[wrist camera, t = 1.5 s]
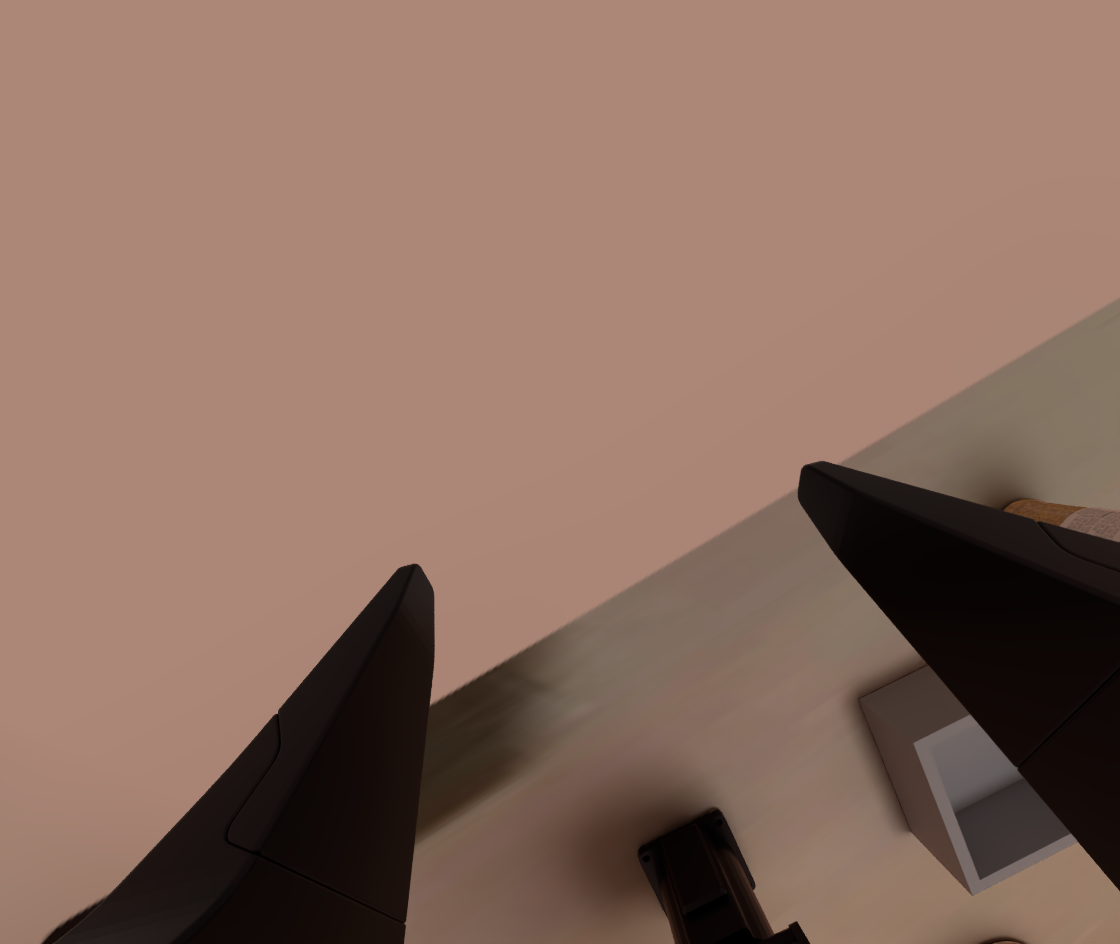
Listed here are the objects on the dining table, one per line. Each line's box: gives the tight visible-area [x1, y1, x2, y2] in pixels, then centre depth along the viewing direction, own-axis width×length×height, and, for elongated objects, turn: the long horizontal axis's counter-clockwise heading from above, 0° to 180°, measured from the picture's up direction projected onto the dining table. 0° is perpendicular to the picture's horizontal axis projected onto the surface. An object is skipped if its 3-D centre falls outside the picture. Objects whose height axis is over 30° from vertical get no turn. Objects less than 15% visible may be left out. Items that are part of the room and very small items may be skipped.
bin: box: [859, 665, 1078, 896], centre depth 27 cm, size 12×12×4 cm
